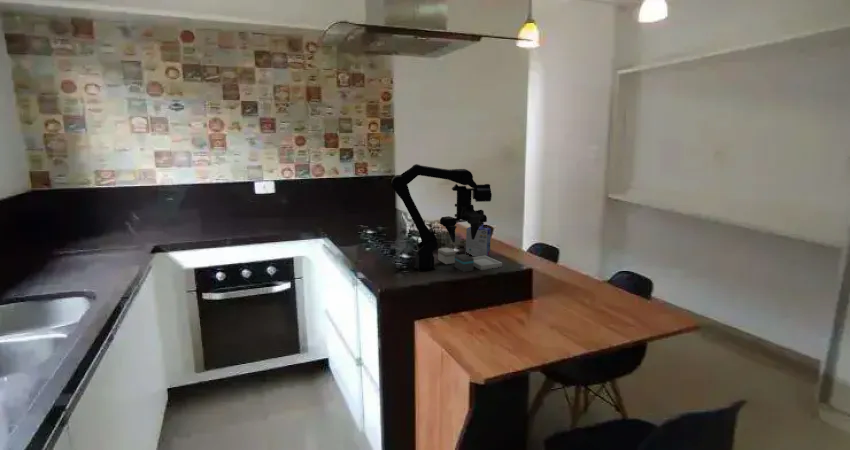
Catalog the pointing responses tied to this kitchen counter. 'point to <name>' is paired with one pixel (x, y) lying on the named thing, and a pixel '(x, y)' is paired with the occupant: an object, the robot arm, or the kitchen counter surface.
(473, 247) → the ink cartridge box
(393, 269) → the kitchen counter surface
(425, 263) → the robot arm
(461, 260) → the block
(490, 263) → the tray
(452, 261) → the block
